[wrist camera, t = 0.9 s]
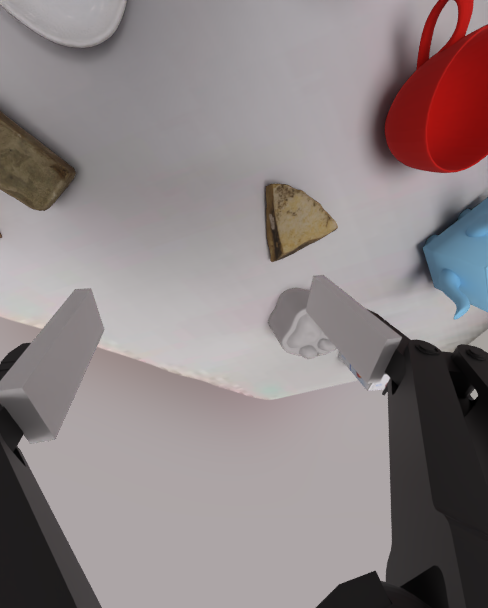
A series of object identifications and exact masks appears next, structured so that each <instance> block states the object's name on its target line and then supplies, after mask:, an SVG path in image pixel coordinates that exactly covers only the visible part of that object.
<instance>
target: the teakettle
mask: <svg viewBox="0 0 488 608" xmlns="http://www.w3.org/2000/svg"><path fill="white" fill-rule="evenodd" d="M423 251H424V254H425V258H426V261H427V264H428V267H429V271H430V274H431V277H432V281H433V284H434V287H435V288H437V289H439V290H441V291H443V292H444V293H445V294H446V295H447V296H448V297H449V298H450V299H451V300H453V302H454V303H455V304H456V306H457V311H456V313H455V316H454V320H455V319H458V318H460V317H461V316H463V315H464V314H465V313H466V312H467V311H468V309H469V308H470V304H471V305H473V306H476V307H478V308H480V309H482V310H484V311H486V312H488V197H487V198H486V199H485V200H484V201H482V202H481V203H480V204H478V205H477V206H476V207H474V208H473V209H472V210H470V209H466V210H464V211H463V212H462V213H461V214H460V215H459V217H458V221H456V222H455V223H454V224H452V225H451V226H450V227H449V228H447V229H446V230H445V231H443V232H442V233H441V234H440V235H432V236H430V237H429V238H428V239H427V241H426V243H425V246H424V247H423Z"/></svg>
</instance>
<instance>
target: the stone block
mask: <svg viewBox="0 0 488 608" xmlns="http://www.w3.org/2000/svg"><path fill="white" fill-rule="evenodd" d="M75 174H76V172H75V170H74V168H73V167H72V166H70V165H69V164H68V163H67V162H65V161H64V160H63V159H61V158H60V157H59V156H57V155H56V154H55V153H53V152H52V151H51V150H50V149H48V148H47V147H46V146H45V145H43V144H42V143H41V142H39V141H38V140H37V139H36V138H34V137H33V136H32V135H30V134H29V133H28V132H26V131H25V130H24V129H22V128H21V127H20V126H18V125H17V124H16V123H15V122H14V121H12V120H11V119H10V118H8V117H7V116H6V115H4V114H3V113H2V112H1V111H0V190H2V191H4V192H5V193H7V194H9V195H10V196H12V197H14V198H16V199H17V200H19V201H21V202H22V203H24V204H25V205H27V206H28V207H30V208H32V209H34V210H39V211H41V210H43V211H45V210H47V209H49V208H50V207H51V206H52V205H53V204H54V203H55V201H56V200H57V199H58V197H59V196H60V195H61V194H62V193H63V191H64V190H65V189H66V188H67V187H68V186H69V184H70V183H71V181H72V180H73V179H74V177H75Z"/></svg>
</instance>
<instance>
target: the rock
mask: <svg viewBox="0 0 488 608" xmlns="http://www.w3.org/2000/svg"><path fill="white" fill-rule="evenodd" d="M266 202H267V208H266V215H267V220H266V230H267V240H268V246H269V250H270V254H271V258H270V260H271V262H274V261H277V260H280V259H283V258H285V257H287V256H289V255H291V254H294V253H295V252H297V251H298V250H300V249H302V248H304V247H306V246H308V245H309V244H312V243H314V242H316V241H318V240H319V239H321V238H323V237H325V236H326V235H328V234H330V233H331V232H333V231H335V230H336V229H337V228H338V226H337V223H336V221H335V220H334V219H333V218H332V217H331V216H330V215H329V214H328V213H327V212H326V211H325V210H324V209H323V208H322V206H321V204H319V203H318V202H317V201H315V200H313V198H311V197H309V196H308V195H307V194H306V193H304V192H303V191H302V190H297V189H295V188H292V187H291V186H289V185H286V184H270V185H268V186H266Z"/></svg>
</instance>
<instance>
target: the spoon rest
mask: <svg viewBox="0 0 488 608" xmlns="http://www.w3.org/2000/svg"><path fill="white" fill-rule="evenodd" d="M126 3H127V0H0V5H1V6H2V7H3V8H4V9H5V10H7V11H8V12H9V13H10V14H11V15H13V16H14V17H15V18H16V19H18V20H19V21H20V22H21V23H23V24H24V25H25V26H27V27H28V28H30V29H31V30H33V31H34V32H36V33H37V34H39V35H40V36H42V37H44V38H46V39H48V40H50V41H52V42H54V43H57V44H60V45H63V46H68V47H75V48H87V47H93V46H96V45H98V44H100V43H102V42H104V41H106V40H107V39H108V38H109V37H110V36H111V35H112V34H113V33H114V32H115V31H116V29H117V28H118V26H119V24H120V22H121V19H122V17H123V14H124V11H125V7H126Z"/></svg>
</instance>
